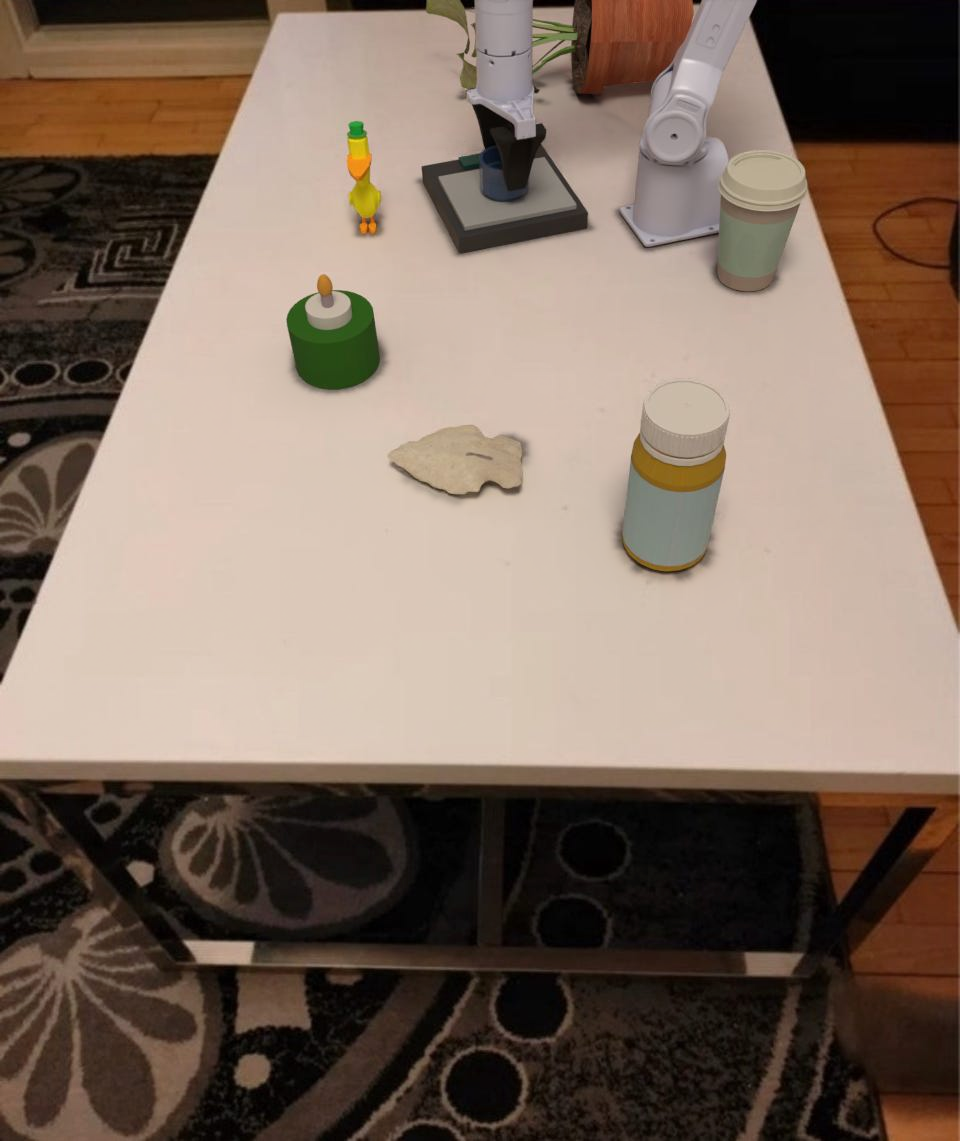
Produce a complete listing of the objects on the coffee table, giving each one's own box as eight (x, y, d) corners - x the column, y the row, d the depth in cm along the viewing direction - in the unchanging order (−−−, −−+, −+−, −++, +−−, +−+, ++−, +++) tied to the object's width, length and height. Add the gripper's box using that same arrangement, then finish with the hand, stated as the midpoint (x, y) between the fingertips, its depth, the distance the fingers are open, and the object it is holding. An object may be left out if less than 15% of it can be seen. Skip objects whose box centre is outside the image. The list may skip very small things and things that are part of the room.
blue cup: (520, 173, 117) (520, 140, 114) (535, 198, 113) (536, 164, 110) (474, 182, 116) (473, 149, 113) (488, 207, 112) (488, 173, 109)
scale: (541, 159, 124) (541, 139, 122) (587, 228, 114) (588, 207, 112) (422, 181, 121) (421, 161, 119) (459, 253, 111) (458, 232, 109)
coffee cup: (791, 259, 109) (816, 153, 99) (779, 306, 104) (804, 198, 94) (712, 247, 111) (729, 141, 101) (696, 291, 106) (713, 185, 96)
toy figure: (382, 246, 113) (369, 142, 103) (350, 247, 113) (335, 144, 103) (385, 213, 117) (373, 111, 108) (354, 214, 117) (340, 112, 108)
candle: (314, 399, 97) (296, 312, 89) (284, 352, 101) (264, 265, 94) (393, 372, 99) (382, 284, 91) (360, 326, 104) (347, 240, 96)
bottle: (615, 516, 86) (629, 378, 74) (696, 509, 86) (723, 370, 74) (629, 579, 81) (647, 443, 70) (715, 572, 82) (747, 435, 70)
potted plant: (659, 70, 141) (408, 64, 138) (682, -49, 129) (408, -57, 126) (680, 131, 132) (411, 126, 129) (707, 9, 120) (411, 2, 117)
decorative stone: (520, 509, 88) (524, 484, 86) (383, 497, 87) (384, 471, 85) (519, 446, 93) (523, 420, 91) (390, 434, 93) (391, 408, 90)
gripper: (447, 22, 106) (453, 146, 117) (487, 82, 97) (490, 211, 108) (511, 11, 107) (511, 135, 118) (556, 70, 98) (553, 198, 109)
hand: (505, 171), depth 113 cm, fingers open, 7 cm apart
